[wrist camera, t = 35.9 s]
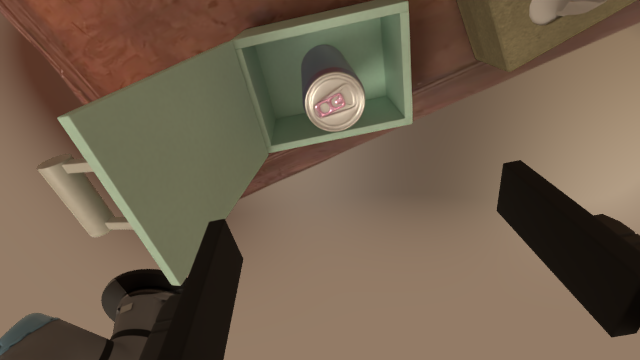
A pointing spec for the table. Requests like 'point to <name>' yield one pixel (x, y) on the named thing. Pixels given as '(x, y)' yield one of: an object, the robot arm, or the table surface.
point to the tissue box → (528, 26)
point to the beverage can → (331, 89)
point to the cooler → (358, 49)
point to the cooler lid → (164, 156)
